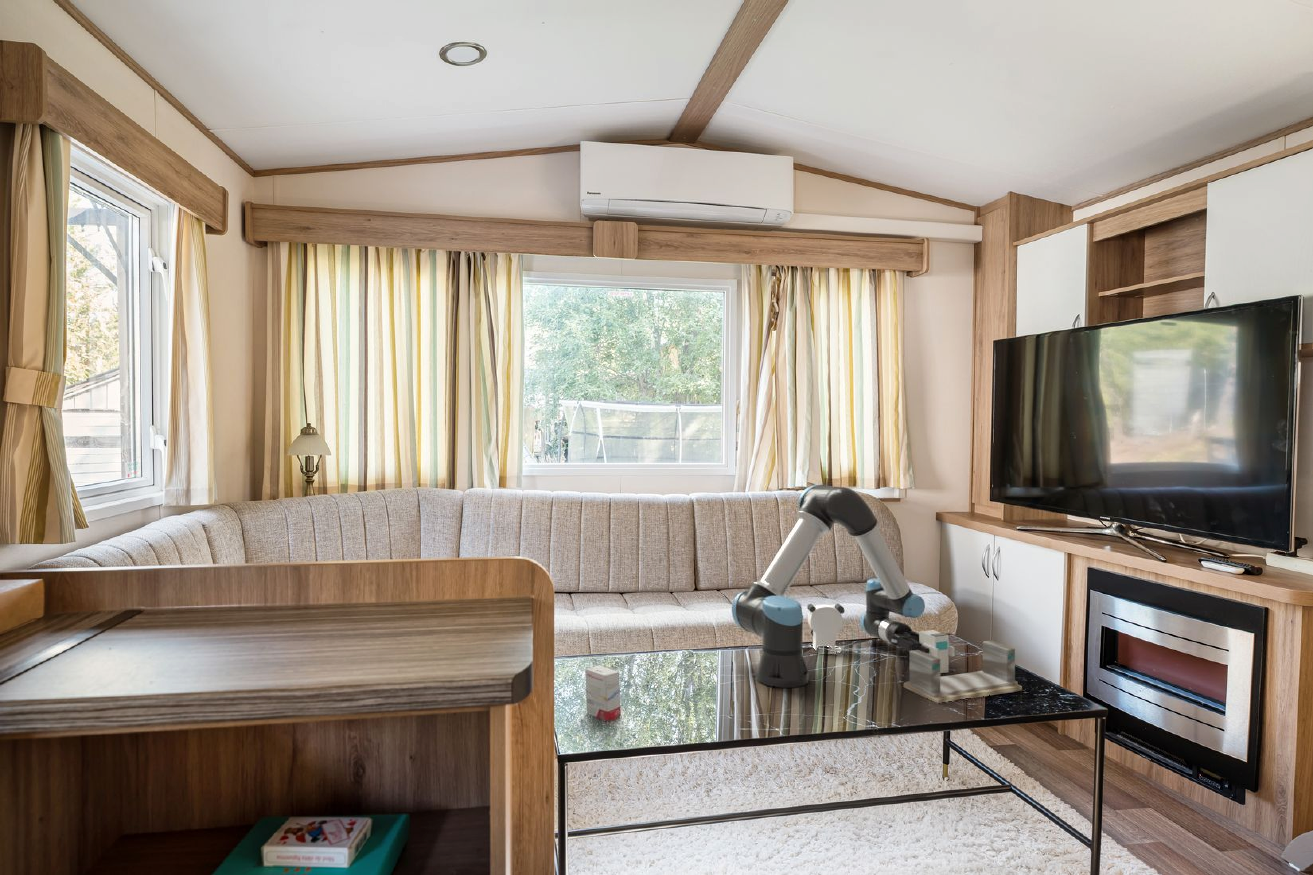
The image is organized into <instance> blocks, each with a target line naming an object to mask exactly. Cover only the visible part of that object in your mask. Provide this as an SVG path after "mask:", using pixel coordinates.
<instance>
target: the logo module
mask: <svg viewBox="0 0 1313 875" xmlns="http://www.w3.org/2000/svg"><path fill="white" fill-rule="evenodd" d="M918 634H919V643H921V645H922V644H923V643H925V644H927V645H930V646H932V647H935V648H937V649H939V659H940V674H944V673H945V674H946V673H949V655H948V645H949V635H948V634H947V633H944V632H939V631H936V630H934V629H928V630H921V631H919V632H918Z"/></svg>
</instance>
